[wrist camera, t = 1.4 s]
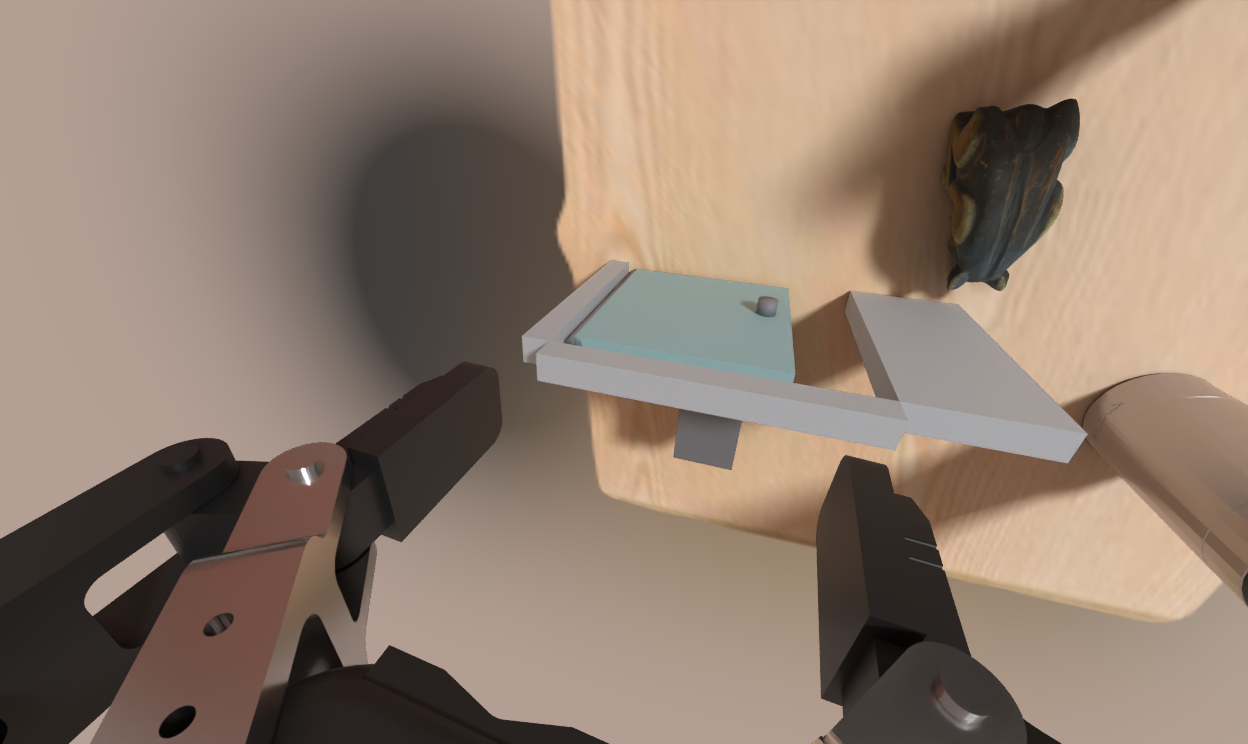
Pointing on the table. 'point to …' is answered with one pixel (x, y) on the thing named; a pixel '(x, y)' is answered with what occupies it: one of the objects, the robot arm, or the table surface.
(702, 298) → the door
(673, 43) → the table surface
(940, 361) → the wall frame
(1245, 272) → the table surface
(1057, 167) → the sculpture
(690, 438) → the doorstop block
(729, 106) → the table surface
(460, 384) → the robot arm
